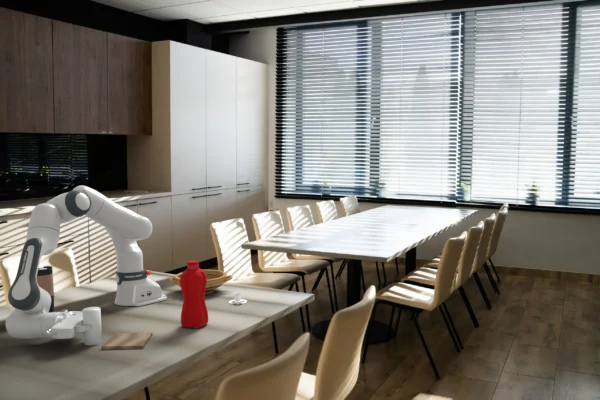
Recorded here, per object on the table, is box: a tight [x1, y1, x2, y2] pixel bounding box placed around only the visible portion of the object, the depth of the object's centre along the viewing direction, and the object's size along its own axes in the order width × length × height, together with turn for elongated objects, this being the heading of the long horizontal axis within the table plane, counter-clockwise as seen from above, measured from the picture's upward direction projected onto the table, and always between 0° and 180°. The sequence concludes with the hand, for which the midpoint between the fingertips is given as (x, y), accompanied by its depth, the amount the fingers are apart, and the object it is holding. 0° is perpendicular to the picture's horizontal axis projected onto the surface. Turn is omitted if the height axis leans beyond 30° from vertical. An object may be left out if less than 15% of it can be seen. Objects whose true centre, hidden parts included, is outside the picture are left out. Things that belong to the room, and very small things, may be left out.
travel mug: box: [36, 265, 55, 313], centre depth 240 cm, size 8×8×20 cm
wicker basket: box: [168, 269, 233, 295], centre depth 278 cm, size 30×24×8 cm
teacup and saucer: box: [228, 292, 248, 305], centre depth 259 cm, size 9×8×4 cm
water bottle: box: [179, 260, 209, 329], centre depth 226 cm, size 9×11×25 cm
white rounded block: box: [81, 306, 103, 346], centre depth 207 cm, size 6×6×12 cm
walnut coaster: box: [101, 332, 153, 350], centre depth 208 cm, size 14×14×1 cm
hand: (94, 324), depth 207 cm, fingers closed on white rounded block, 6 cm apart
